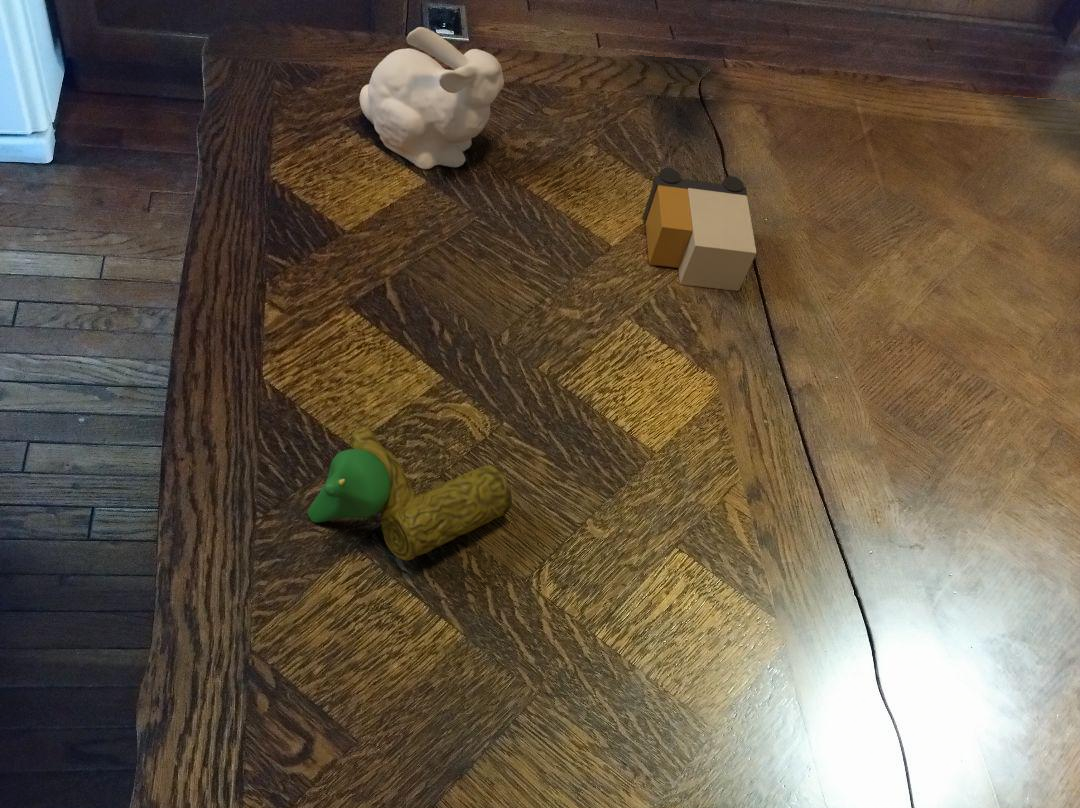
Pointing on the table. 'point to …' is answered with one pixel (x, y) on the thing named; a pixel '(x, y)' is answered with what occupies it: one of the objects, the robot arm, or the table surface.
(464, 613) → the table surface
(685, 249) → the cream truck
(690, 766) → the table surface
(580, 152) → the table surface
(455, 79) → the rabbit
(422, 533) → the bird figurine
